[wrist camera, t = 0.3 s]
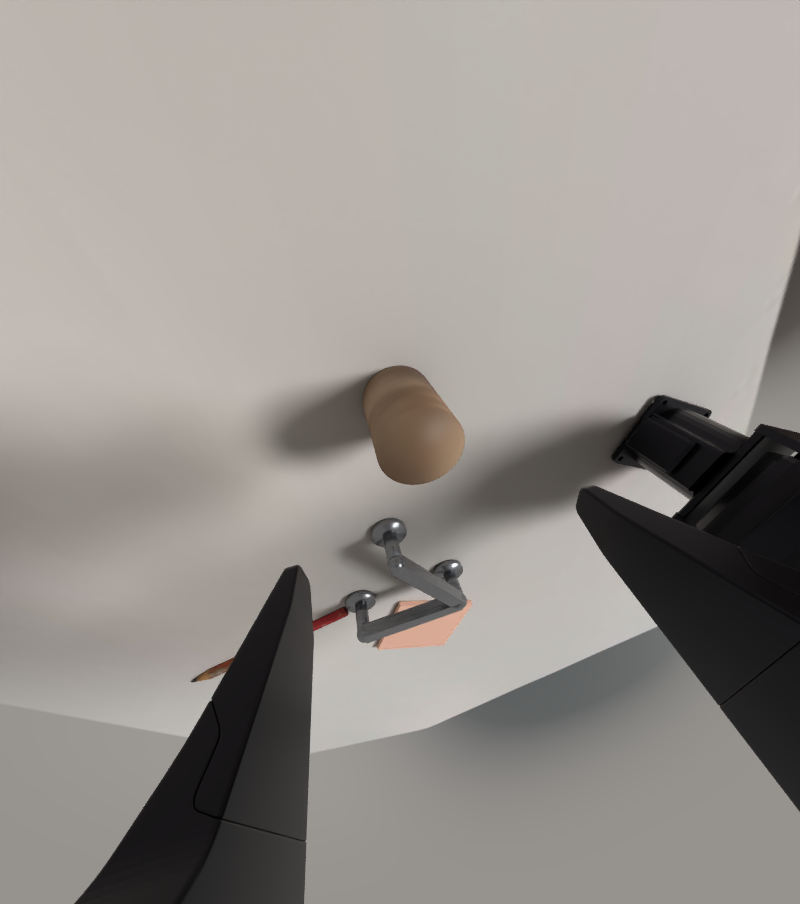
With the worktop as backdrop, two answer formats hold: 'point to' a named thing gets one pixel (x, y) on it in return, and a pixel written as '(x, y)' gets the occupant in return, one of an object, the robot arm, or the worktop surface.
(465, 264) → the worktop surface
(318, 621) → the pencil
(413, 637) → the terracotta mat
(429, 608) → the dark grey bent piece
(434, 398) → the wooden dowel cylinder
